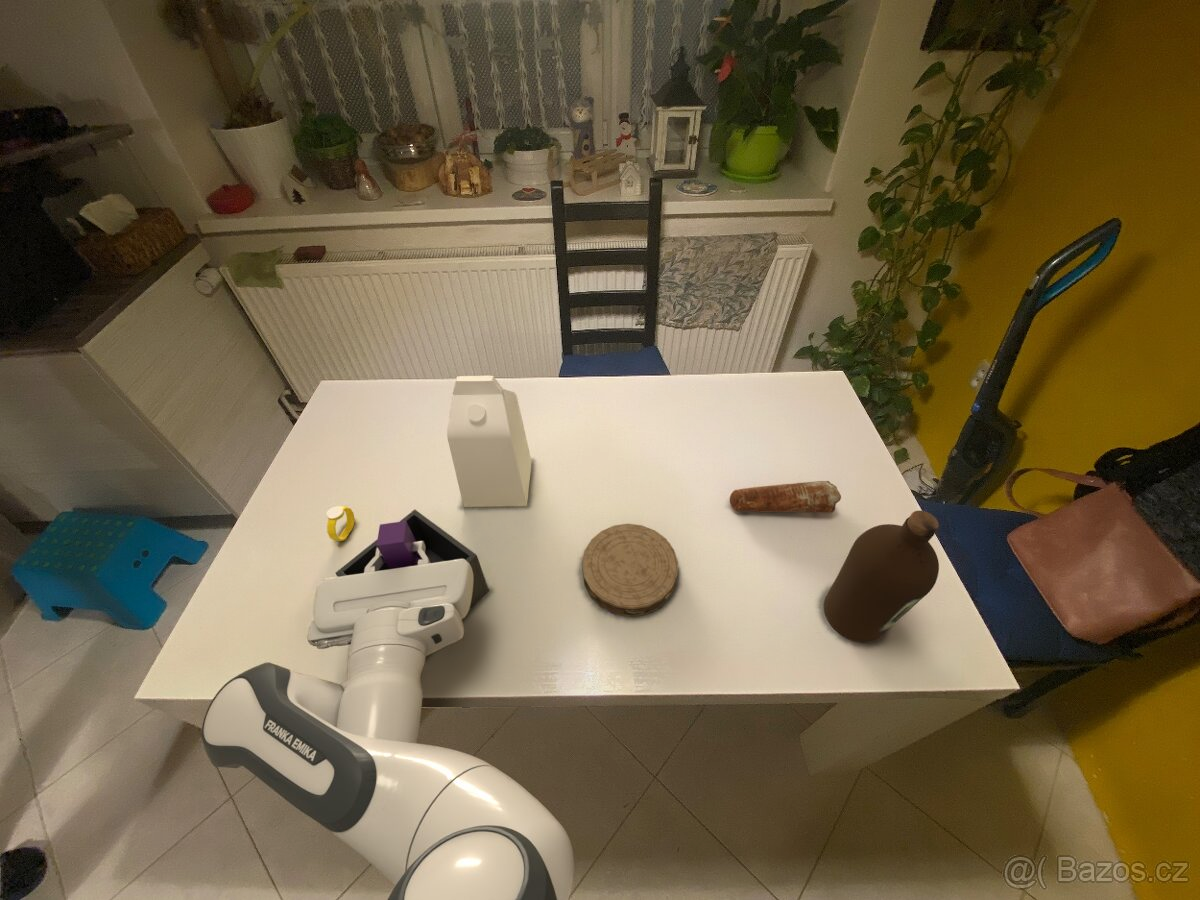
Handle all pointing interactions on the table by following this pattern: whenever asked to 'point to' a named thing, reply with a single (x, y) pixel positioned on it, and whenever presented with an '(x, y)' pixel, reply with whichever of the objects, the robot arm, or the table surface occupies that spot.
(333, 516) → the watch
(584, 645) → the table surface
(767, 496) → the bread
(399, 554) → the purple rectangular block
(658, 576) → the wood slice coaster
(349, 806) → the robot arm
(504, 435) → the milk
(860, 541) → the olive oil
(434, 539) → the waste bin
